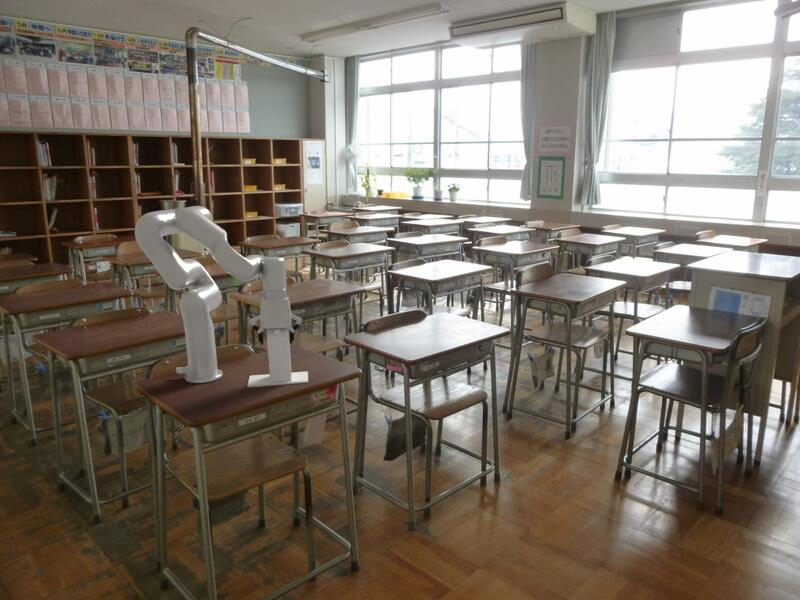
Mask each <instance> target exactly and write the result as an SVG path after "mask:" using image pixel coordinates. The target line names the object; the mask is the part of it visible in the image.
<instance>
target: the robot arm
mask: <svg viewBox="0 0 800 600" xmlns="http://www.w3.org/2000/svg"><path fill="white" fill-rule="evenodd" d="M182 233H184V234H185V235H187V237H189V238H191V239H192V240H194V241H195V242H196V243H197V244H199V245H200V246H202V247H203V248H204V249H206V251H209V253H210V254H211V257H212V258H213V260H214V261H215V263H216V264H217V265H218V266H219V267H220V269H222V270H224V271H225V272H226V273H227V274H229V275H231V277H233V278H235V279H236V280H238V281H240V282H249V281H253V280H254V279H257V278H259V277H262V287H263V289H262V290H259V291H258V295H259V296H262V298H261V299H260V306H259V307H260V308H259V314H258V315H257V316H254V317H253V318H251V319H249V323H250V326H251V327H252V329H253V330H254V331H255V332H257V334H258V342H259V343H260V345H261V346H263V345H264V330H265V329H266V330H267V329H278V328H288V329H289V343H290V345H292V344H293V342H294V341H295V332H296V331H297V330H298V329H299V327H300V325H301V323H302V322H303V318H301V317H299V316H297V315H295V314H293V313H292V311H291V308H292V307H291V301H290V298H289V297H288V295H287V266H286V265H287V263H286V260H285V258H284V257H282V256H265V255H260V254H250V255H248V256H245V257H244V256H243V255H241V254H240V253H239V252H237V251H236V250H235V249H234V248H233V247H232V246H230V244H229V242H228V232H226V230H225V229H223V228H222V227H220V226H219V225H218V224H217V223H214V222H213V215H212V213H211V212H210V210H209V209H208V208H207V207H204V206H202V205H194V206H193V205H192V206H187V207H181V208H170V209H164V210H156V211H151V212H147V213H145V214H143V215H141V216H140V218H138V220H137V221H136V224H135V228H134V236H135V241H136V244H138V247H139V248H140V250H141V251H142V252H143V253H144V254H145V256H146V257H147V258H148V259H149V261H150V262H151V263H152V265H153V266H154V268H155V270H156V271H157V273H158V274H159V275H160V277H161V278H162V279H163V281H164V282H165V284H167V286H168V287H169V288H170V289H172V290H175V291H181V290H185V289H188V291H185V293H183V294H182V296H181V297H180V299H179V305H178V306H179V311H180V315H181V317H182V322H183V327H184V328H183V330H184V335H185V336H184V337H185V345H186V355H187V365H186V366H178V367H176V368H175V373H176V374H178V375H185V376H184V379H185V381H186V382H188V383H191V384H204V383H209V382H214V381H216V380H218V379H219V380H220V379H221V378H222V377H223V374H224V373H223V371H222V370H221V369H218V359H217V349H216V338H215V329H214V323H213V320H212V317H211V314H210V312H212V311H213V310H215V309H217V308H218V307H220V305H221V303H222V299H223V295H222V292H221V290H220V288H219V286H218V285H217V284H216V282H215V281H214V279H213V278H212V277H211V275H210V274H209V272H208V271H207V270H206V268H205V267H204V266H203V264H201V263H200V262H199V261H198V260H196V259H193V258H184V259H182V257H181V256H180V255H179V254H178V252H177V251H176V250H175V248H174V247H173V246H172V245H171V244H170V243H169V242H167V241H166V240H165V239H164V237H165V236H169V235H174V234H182ZM292 320H294V321H296V323H295V324H294V325H292ZM257 321H259V322H260V323H259V324H260V325H259V326H258V325H257V323H256V322H257Z"/></svg>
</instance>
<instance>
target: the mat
mask: <svg viewBox="0 0 800 600" xmlns="http://www.w3.org/2000/svg"><path fill="white" fill-rule="evenodd" d="M291 375H292V380H288V381H276V382H270V373H268V374H253V375H249V378H248V382H247V386H246V387H247V388H256V387H257V388H258V387H270V386H285V385H296V384H297V385H298V384H308V383H309V372H308V370H307V371H296V372H295V371H294V372H291Z"/></svg>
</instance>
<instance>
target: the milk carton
mask: <svg viewBox="0 0 800 600" xmlns="http://www.w3.org/2000/svg"><path fill="white" fill-rule="evenodd" d="M266 344H267V356H268V367H269V368H268V370H269V374H270V382H276V381H288V380H292V375H291V373H292V363H291V362H292V361H291V348H290V347H291V344H290V330H289V329H288V328H278V329H266Z"/></svg>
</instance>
